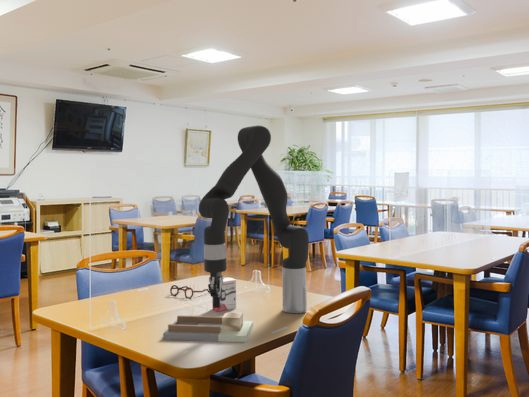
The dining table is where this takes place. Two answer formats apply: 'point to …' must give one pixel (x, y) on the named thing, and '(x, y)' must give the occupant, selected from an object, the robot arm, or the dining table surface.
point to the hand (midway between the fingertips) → (216, 307)
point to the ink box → (227, 295)
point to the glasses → (185, 290)
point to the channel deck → (205, 329)
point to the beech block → (232, 321)
